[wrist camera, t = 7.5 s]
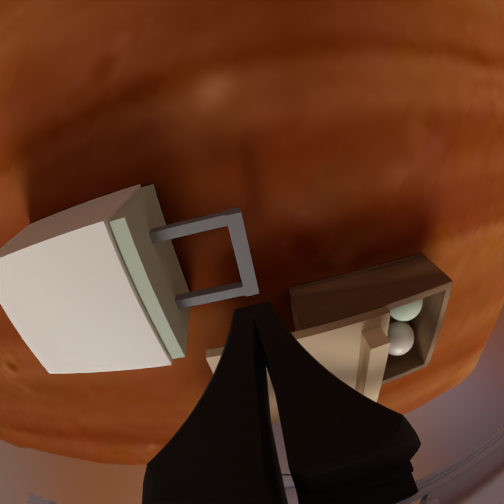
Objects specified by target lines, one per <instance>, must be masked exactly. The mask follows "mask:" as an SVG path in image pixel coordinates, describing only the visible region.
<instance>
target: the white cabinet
mask: <svg viewBox="0 0 504 504" xmlns="http://www.w3.org/2000/svg"><path fill="white" fill-rule="evenodd" d="M140 189H141V185H140V184H139V185H135V186H132V187H129V188H126V189H123V190H120V191H117V192H114V193H111V194H108V195H105V196H102V197H99V198H96V199H93V200H90V201H87V202H85V203H82V204H79V205H76V206H74V207H71V208H69V209H66V210H63V211H61V212H58V213H56V214H53V215H51V216H48V217H46V218H43V219H41V220H39V221H36V222H34V223H32V224H29V225H28V226H27V227H26V228H24V229H23V230H22V231H21V232H19V233H18V234H17V235H16V236H14V237H13V238H12V239H11V240H9V241H8V242H7V243H6V244H5V245H4V246H2V247H1V248H0V304H1V306H2V307H3V309H4V311H5V312H6V314H7V315H8V317H9V319H10V320H11V322H12V323H13V325H14V326H15V328H16V329H17V331H18V332H19V334H20V335H21V337H22V338H23V340H24V341H25V342H26V344H27V345H28V347H29V348H30V349H31V351H32V352H33V353H34V355H35V356H36V357H37V359H38V360H39V361H40V363H41V364H42V365H43V366H44V368H45V369H46V370H47V371H48V372H49V374H61V373H89V372H106V371H120V370H131V369H141V368H151V367H159V366H167V365H172V357H171V355H170V354H169V352H168V350H167V348H166V346H165V344H164V343H163V341H162V339H161V337H160V335H159V333H158V331H157V329H156V327H155V325H154V323H153V321H152V319H151V317H150V315H149V313H148V311H147V309H146V307H145V305H144V303H143V301H142V299H141V297H140V295H139V293H138V290H137V288H136V286H135V284H134V282H133V279H132V277H131V275H130V273H129V270H128V268H127V266H126V263H125V261H124V259H123V256H122V254H121V251H120V249H119V246H118V244H117V241H116V239H115V236H114V234H113V231H112V228H111V226H110V223H109V222H110V220H111V219H112V218H113V217H114V216H115V215H116V214H117V213H118V212H119V211H120V209H121V208H122V207H123V206H124V205H125V204H126V203H127V202H128V201H129V200H130V199H131V198H132V197H133V196H134V195H135V194H136V193H137V192H138V191H139V190H140Z"/></svg>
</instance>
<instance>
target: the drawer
mask: <svg viewBox="0 0 504 504" xmlns="http://www.w3.org/2000/svg"><path fill="white" fill-rule="evenodd" d="M109 223H110V226H111V228H112V231H113V234H114V236H115V239H116V241H117V244H118V246H119V249H120V251H121V254H122V256H123V259H124V261H125V263H126V266H127V268H128V270H129V273H130V275H131V277H132V279H133V282H134V284H135V286H136V288H137V290H138V293H139V295H140V297H141V299H142V301H143V303H144V305H145V307H146V309H147V311H148V313H149V315H150V317H151V319H152V321H153V323H154V325H155V327H156V329H157V331H158V333H159V335H160V337H161V339H162V341H163V343H164V344H165V346H166V348H167V350H168V352H169V354H170V355H171V357H172V359H174V358H181V357H185V354H186V343H187V332H188V323H189V313H190V306H195V305H200V304H205V303H210V302H215V301H220V300H225V299H230V298H234V297H239V296H244V295H245V296H251V295H255V294H259V290H258V285H257V281H256V276H255V272H254V267H253V263H252V258H251V254H250V249H249V245H248V240H247V236H246V231H245V227H244V222H243V218H242V213H241V209H240V207H236V208H232V209H227V210H225V211H223V212H218V213H214V214H210V215H206V216H201V217H197V218H193V219H189V220H185V221H181V222H177V223H173V224H169V225H166V223H165V220H164V217H163V213H162V210H161V207H160V204H159V201H158V197H157V194H156V191H155V187H154V184H151V185H148V186H144V187H142V188H141V189H140V190H139V191H138V192H137V193H136V194H135V195H134V196H133V197H132V198H131V199H130V200H129V201H128V202H127V203H126V204H125V205H124V206H123V207H122V208H121V209H120V211H119V212H118V213H117V214H116V215H115V216H114V217H113V218H112V219H111V220H110V222H109ZM225 226H228V229H229V233H230V237H231V241H232V245H233V249H234V253H235V257H236V261H237V265H238V269H239V272H240V276H241V280H242V281H241V282H236V283H231V284H227V285H222V286H217V287H213V288H208V289H203V290H198V291H193V292H189V289H188V286H187V284H186V281H185V278H184V275H183V273H182V270H181V267H180V264H179V261H178V259H177V256H176V253H175V250H174V247H173V244H172V241H171V239H173V238H178V237H182V236H186V235H190V234H194V233H199V232H203V231H207V230H211V229H216V228H220V227H225Z"/></svg>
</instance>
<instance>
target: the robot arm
mask: <svg viewBox="0 0 504 504" xmlns="http://www.w3.org/2000/svg"><path fill="white" fill-rule="evenodd" d="M266 367H267V369H266ZM267 371H268V374H269V377H270V380H271V383H272V387H273V390H274V393H275V397H276V402H277V407H278V412H279V418H280V422H277V423H272V422H271V415H270V403H269V392H268V380H267ZM420 445H421V443H420V440H419V437H418V435H417V434H416V432H415V430H414V429H413V428H412V426H411V425H410V423H409V422H408V421H407V419H406V418H405V417H404V416H403V415H402V414H400V413H397V412H395V411H393V410H391V409H389V408H386V407H385V406H383V405H381V404H379V403H377V402H375V401H373V400H371V399H370V398H368V397H366V396H364V395H363V394H361V393H359V392H358V391H356V390H355V389H353V388H352V387H350V386H349V385H347V384H346V383H344V382H343V381H341V380H340V379H339V378H337V377H336V376H335V375H334V374H332V373H331V372H330V371H328V370H327V369H326V368H325V367H324V366H323V365H321V364H320V363H319V362H318V361H317V360H316V359H315V358H314V357H313V356H312V355H311V354H310V353H309V352H308V351H307V350H306V349H305V348H304V347H303V346H302V345H301V344H300V343H299V342H298V341H297V340H296V338H295V337H294V336H293V335H292V334H291V332H290V331H289V330H288V329H287V327H286V326H285V325H284V323H283V322H282V320H281V319H280V318H279V316H278V314H277V313H276V311H275V309H274V307H273V305H272V304H271V303H270V302H266V303H262V304H257V305H252V306H248V307H243V308H238V309H235V311H234V312H233V318H232V323H231V327H230V331H229V334H228V338H227V341H226V343H225V346H224V349H223V352H222V355H221V357H220V360H219V362H218V364H217V367H216V369H215V372H214V374H213V376H212V378H211V380H210V382H209V384H208V386H207V388H206V389H205V391H204V393H203V395H202V396H201V398H200V400H199V401H198V403H197V405H196V406H195V408H194V409H193V411H192V412H191V414H190V415H189V417H188V418H187V420H186V421H185V422H184V423H183V425H182V426H181V427H180V429H179V430H178V431H177V432H176V434H175V435H174V436H173V437H172V439H171V440H170V441H169V442H168V443H167V444H166V445H165V446H164V447H163V448H162V450H161V451H160V452H159V453H158V454H157V455H156V456H155V457H154V458H153V459H152V460H151V461H150V462H149V463H148V464H147V468H146V472H145V477H144V482H143V495H142V504H410V503H412V502H414V501H416V500H418V499H420V498H422V497H423V498H422V499H421V501H420V504H504V426H503V427H502V428H500V429H499V430H498V431H497V432H495V433H494V434H493V435H491V436H490V437H489V438H487V439H486V440H485V441H483V442H482V443H480V444H479V445H477V446H476V447H475V448H473V449H471V450H470V451H468V452H467V453H465V454H464V455H462V456H461V457H459V458H457V459H456V460H454V461H452V462H451V463H449V464H448V465H446V466H444V467H442V468H441V469H439V470H437V471H435V472H433V473H431V474H429V475H427V476H425V477H424V478H422V479H420V480H418V481H414V478H413V476H412V473H411V472H413V467H412V464H411V462H410V459H411V458H412V457H413V456H414V455H415V453H416V452H417V451H418V449H419V447H420ZM27 504H57V503H55V502H53V501H50V500H48V499H45V498H43V497H40V496H37V495H35V494H32V493H29V494H28V499H27Z"/></svg>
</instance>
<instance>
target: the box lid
mask: <svg viewBox="0 0 504 504" xmlns="http://www.w3.org/2000/svg"><path fill="white" fill-rule="evenodd" d="M390 315H391V312H390V310H389V309H388V308H387V306H384V307H381V308H378V309H375V310H372V311H368V312H365V313H362V314H358V315H355V316H352V317H348V318H345V319H341V320H338V321H334V322H330V323H327V324H323V325H319V326H315V327H311V328H308V329H304V330H300V331H295V332H291V334H292V335H293V336H294V337H295V338H296V340H297V341H298V342H299V343H300V344H301V345H302V346H303V347H304V348H305V349H306V350H307V351H308V352H309V353H310V354H311V355H312V356H313V357H314V358H315V359H316V360H317V361H318V362H319V363H320V364H321V365H323V366H324V367H325V368H326V369H327V370H328V371H330V372H331V373H332V374H334V375H335V376H336V377H337V378H339V379H340V380H341V381H343V382H344V383H346V384H347V385H349V386H350V387H352V388H353V389H355V390H356V391H358V392H359V393H361V394H363V395H364V396H366V397H368V398H370V399H371V400H373V401H375V402H377V399H378V395H379V391H380V388H381V384H382V380H383V375H384V371H385V367H386V362H387V358H388V353H389V348H390V343H391V342H390V341H389V339H388V338H387V334H388V328H389V322H390ZM223 349H224V347H220V348H214V349H209V350H206V359H207V362H208V364H209V366H210V368H211V370H212V372H213V374H214V372H215V369H216V367H217V364H218V362H219V360H220V357H221V355H222V352H223ZM266 369H267V367H266ZM267 380H268V392H269V403H270V415H271V422H272V423H277V422H280V418H279V412H278V407H277V402H276V397H275V393H274V390H273V387H272V383H271V380H270V377H269V374H268V371H267Z"/></svg>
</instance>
